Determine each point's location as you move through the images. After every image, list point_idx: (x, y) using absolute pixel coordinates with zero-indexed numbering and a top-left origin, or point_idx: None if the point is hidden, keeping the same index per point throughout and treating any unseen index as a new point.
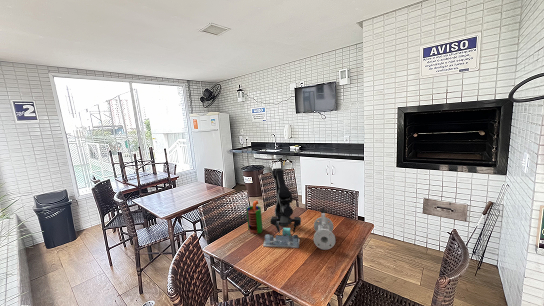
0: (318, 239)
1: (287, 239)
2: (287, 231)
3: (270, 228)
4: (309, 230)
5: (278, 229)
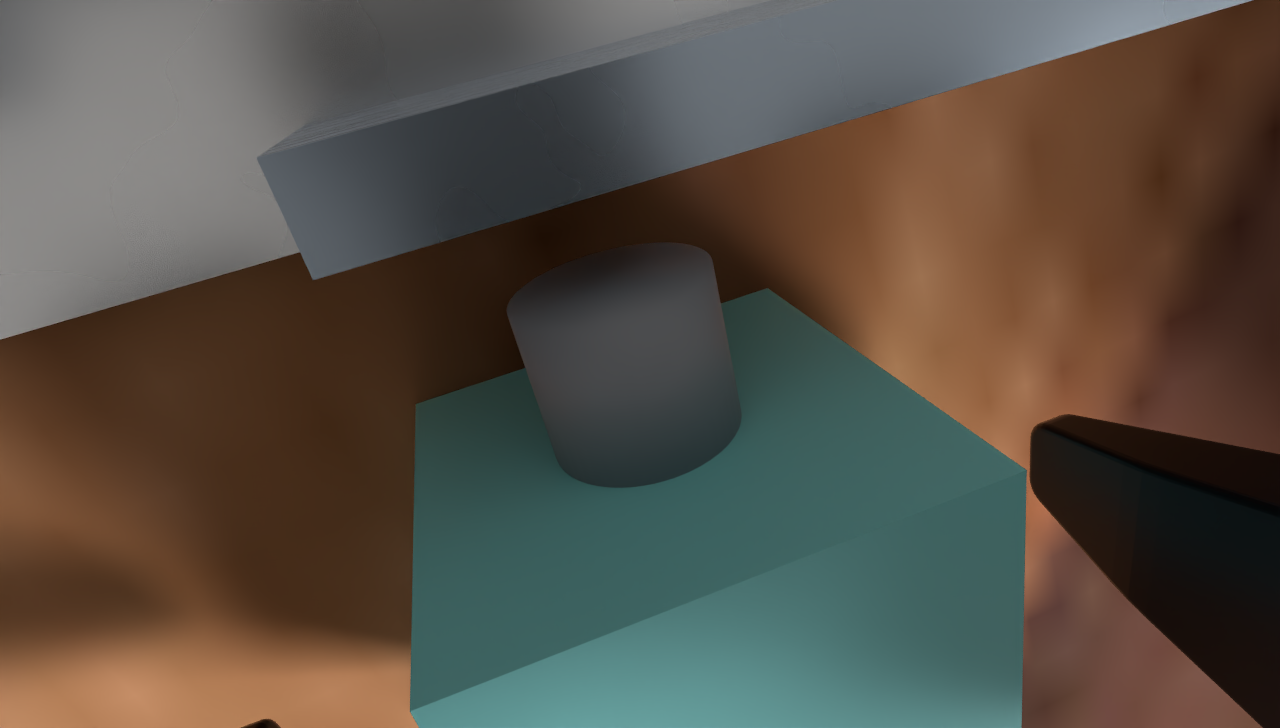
0: None
1: (379, 61)
2: (596, 627)
3: None
4: None
5: None
